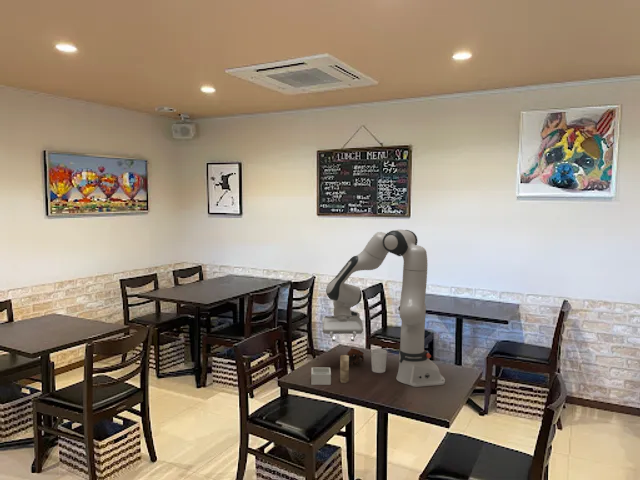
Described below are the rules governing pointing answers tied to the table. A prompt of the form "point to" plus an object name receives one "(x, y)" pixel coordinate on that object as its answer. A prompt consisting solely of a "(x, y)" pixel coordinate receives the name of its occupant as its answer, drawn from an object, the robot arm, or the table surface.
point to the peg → (344, 368)
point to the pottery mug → (355, 356)
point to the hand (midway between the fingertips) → (343, 340)
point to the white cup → (378, 360)
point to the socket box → (320, 376)
